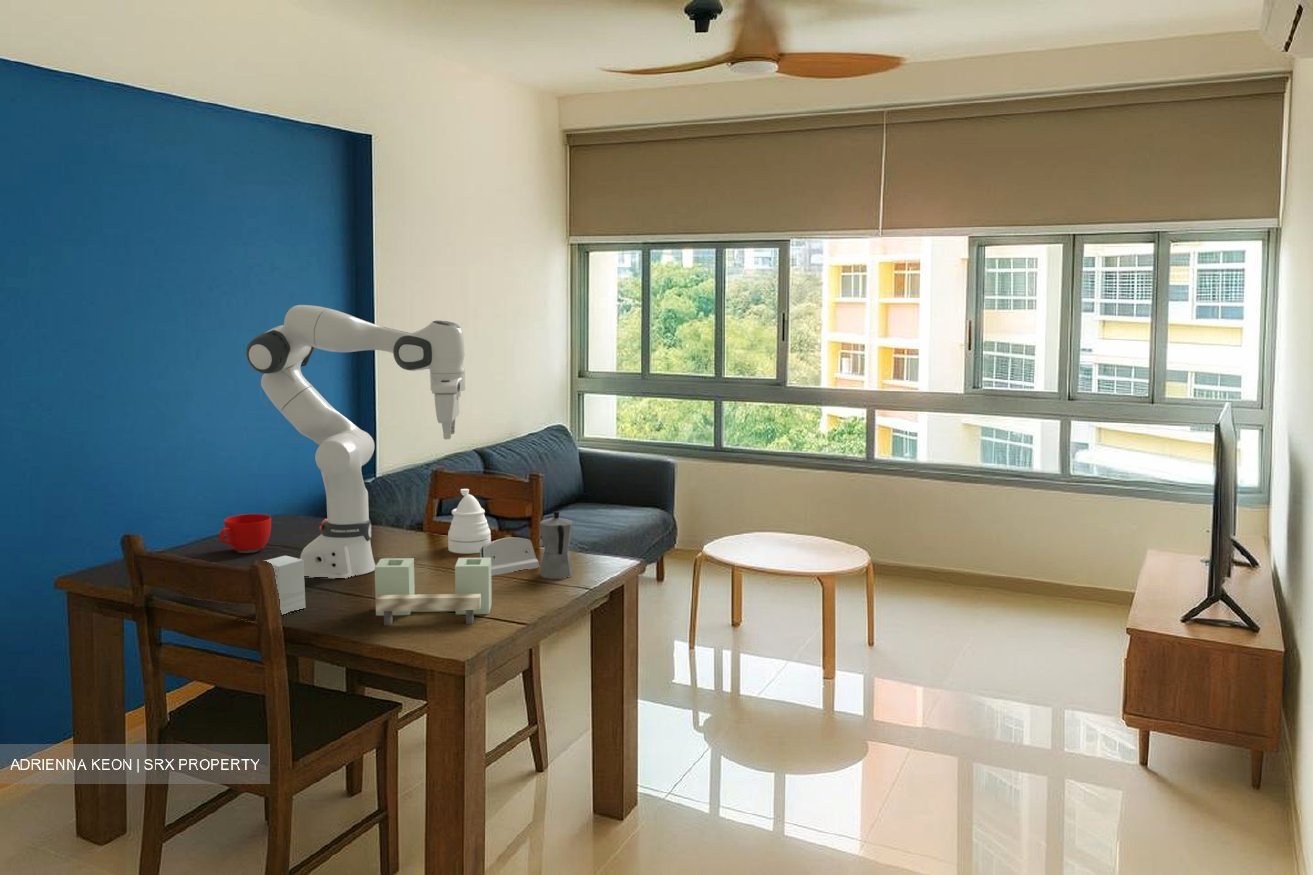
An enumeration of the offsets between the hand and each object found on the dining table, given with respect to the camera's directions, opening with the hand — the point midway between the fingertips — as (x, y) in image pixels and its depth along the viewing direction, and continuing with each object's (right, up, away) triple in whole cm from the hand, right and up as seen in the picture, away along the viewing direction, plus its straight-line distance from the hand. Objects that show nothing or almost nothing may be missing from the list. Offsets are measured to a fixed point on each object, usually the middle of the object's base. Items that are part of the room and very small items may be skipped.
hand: (449, 436), depth 264 cm
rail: (0, -44, -25) cm, 51 cm away
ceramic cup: (-68, -35, +36) cm, 85 cm away
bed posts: (0, -43, -15) cm, 45 cm away
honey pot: (-3, -34, +45) cm, 57 cm away
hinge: (+12, -38, +22) cm, 46 cm away
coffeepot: (+27, -39, +16) cm, 50 cm away
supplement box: (-37, -43, -17) cm, 59 cm away
